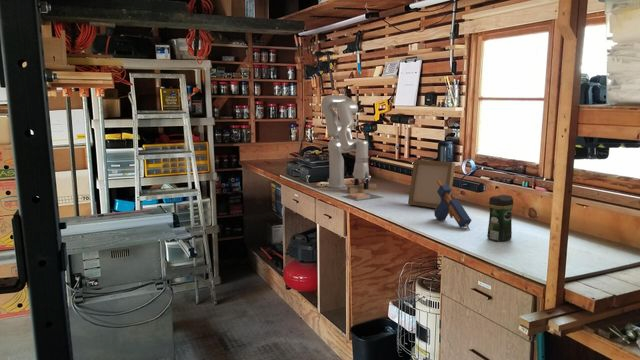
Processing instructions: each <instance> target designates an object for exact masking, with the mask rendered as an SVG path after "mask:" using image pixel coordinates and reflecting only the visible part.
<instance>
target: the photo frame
mask: <svg viewBox="0 0 640 360" xmlns="http://www.w3.org/2000/svg"><path fill="white" fill-rule="evenodd" d="M412 165H413V166H412V172H411V180H410V187H409V193H408V194H409V195H408V200H407V205H412V206H417V207H418V206H419V207H426V208H432V209H436V208H437V207H438V205H439V204H440V202H441V198H440V196H439V194H438V193H437V191H438V189H439V187H440V186H439V185H438V183H437V181H438V180H439V181H440V183H441V184H442V185H448V186H449V187H450V189H451V192H450V193H449V196H450V198H451V199H452V190H453V184H454V176H455V168H456V163H455V162H453V161H451V162H450V161H439V160H438V161H437V160H428V159H427V160H426V159H413V164H412Z"/></svg>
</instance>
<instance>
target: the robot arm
mask: <svg viewBox="0 0 640 360" xmlns="http://www.w3.org/2000/svg"><path fill="white" fill-rule="evenodd" d="M320 107H321V111H322V114H323V116H324V120H325V125H326V126H325V127H326V130H327V135H328V136H329V137H331V138H333V139H330V140H329V141H328V143H327V147H328V148H327V149H328V156H329V162H328V163H329V170H328V171H329V173H328V174H329V179H327V182H328V183H327V184H326V186H327V187H328V188H333V189H343V188H346V187H347V184H345V180H344V179H345V160H344V157H343V155H342V154H346V153H351V152H355V162H354V167H353V172H352V178H353V183H354V185H353V186H355V185H360V180H363V182H364V183H363V185H364V189H368V185H369V184H370V181H371V178H372V176H371V175H370V171H369V170H370V169H369V142H368V140H364V139H360V138H354V137H353V135H352V134H353V133H352V130H351V128H352V127H353V126H354V125H355V120H354V116H353V115H356V113H358V110H359V106H358V104H357V102H356V101H355V100H354V99H352V98H350V97H348V96H346V95H343V94H328V95H325V96H323V98H322V99H321V105H320ZM334 109H336V111H335V110H334Z"/></svg>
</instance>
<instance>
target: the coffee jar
mask: <svg viewBox="0 0 640 360" xmlns="http://www.w3.org/2000/svg"><path fill="white" fill-rule="evenodd" d="M488 207H489V219H488V227H487V233H486V234H487V235H486V237H487V239H489V240H490V241H492V242H507V241H509V240H511V239H512V233H513V232H512V229H513V228H512V225H513V224H512V220H513V219H512V213H513V208H514V198H513V197H512V196H511V195H507V194H499V195H493V196H491V197H489V201H488Z"/></svg>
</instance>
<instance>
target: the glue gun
mask: <svg viewBox="0 0 640 360" xmlns="http://www.w3.org/2000/svg"><path fill="white" fill-rule="evenodd" d="M437 183H438V185H439V186H440V187H439V189H438V191H437V193H438V194H439V196H440V198H441V202H440V204H439V205H438V207H437V208H435V210H434V211H433V212H434V214H433V215H434V217H435V219H436V220H437V221H444V220H446V219H447V218H448V216H449V217H450V219H454V220H455V222H456V223H457V224H458V226H459V228H467V229H468V230H469V231H471V229H470V227H469V225H470V223H471V222H472V218H471V217H470V216H469V213H467V211H466V210H465V208H464V207H463V204H462V203H461V202H460V200H458V199H452V197H451V198H450V196H449V193H450V192H451V189H450V187H449V186H448V185H442V184H441V183H440V181H439V180H438V181H437ZM451 193H452V192H451Z"/></svg>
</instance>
